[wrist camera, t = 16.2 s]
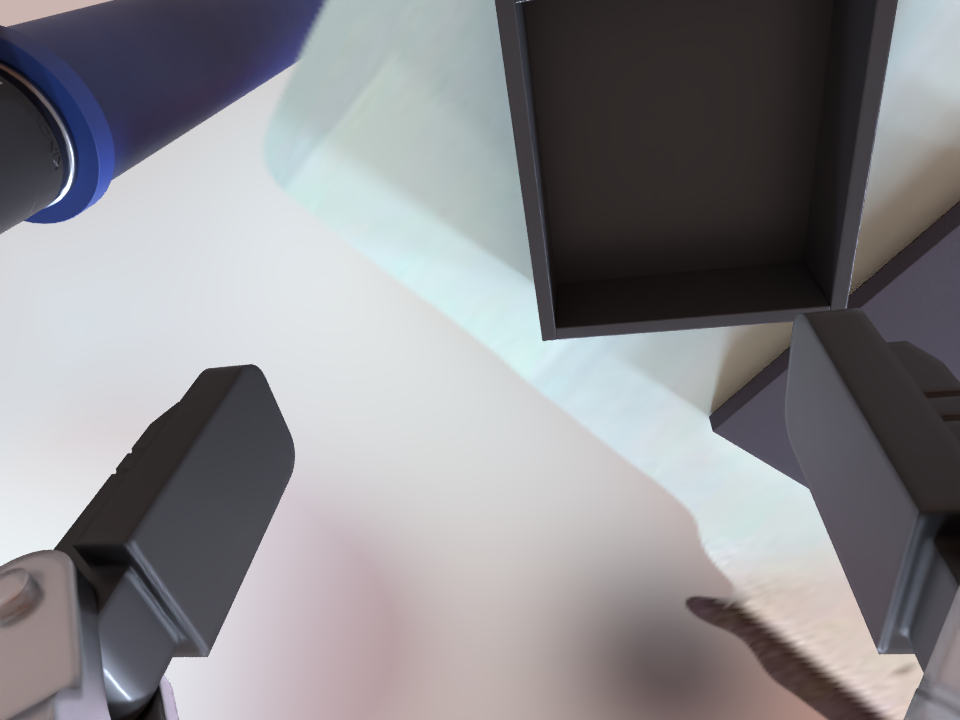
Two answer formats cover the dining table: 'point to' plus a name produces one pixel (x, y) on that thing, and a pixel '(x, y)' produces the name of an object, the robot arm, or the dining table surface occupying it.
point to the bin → (692, 156)
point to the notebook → (895, 314)
